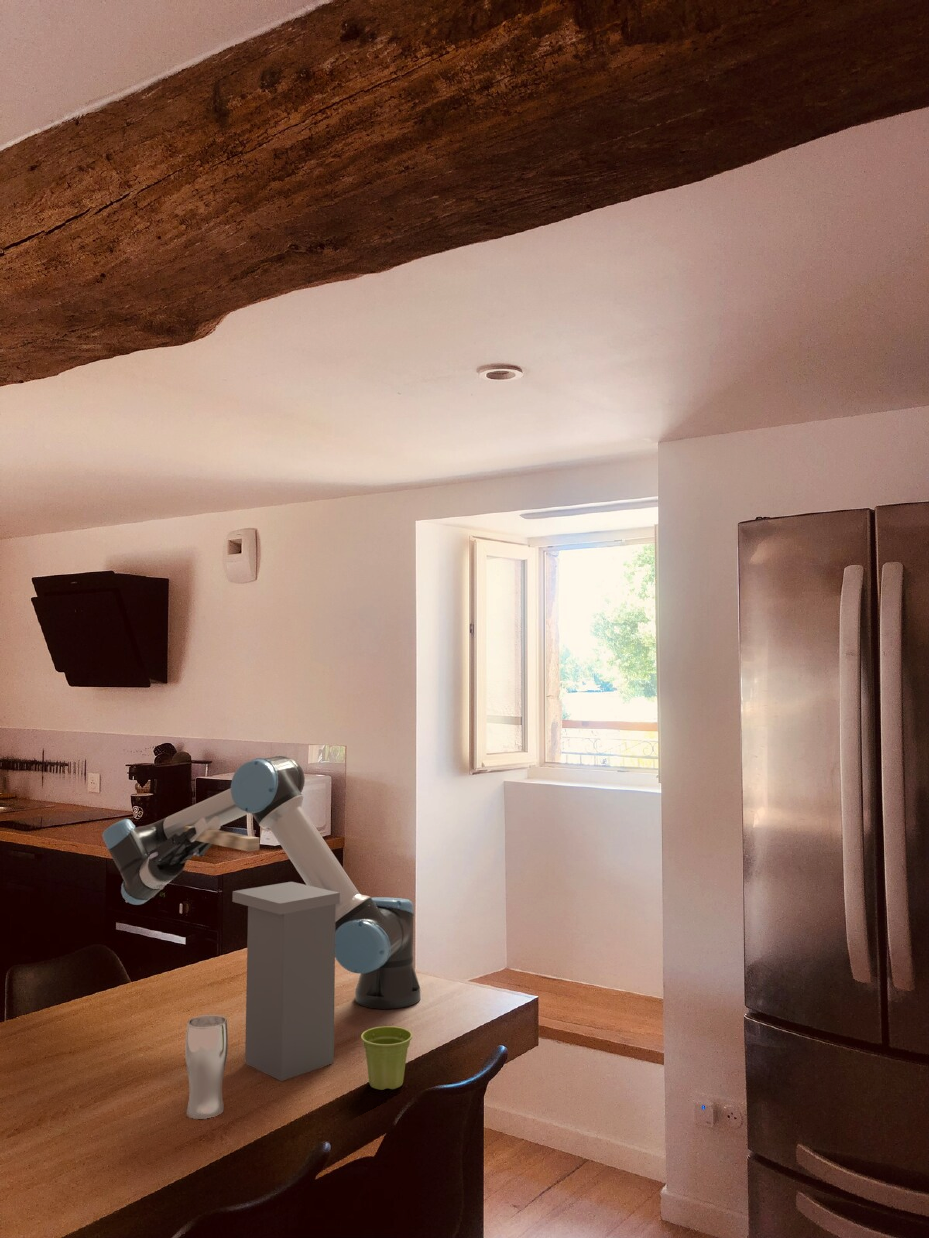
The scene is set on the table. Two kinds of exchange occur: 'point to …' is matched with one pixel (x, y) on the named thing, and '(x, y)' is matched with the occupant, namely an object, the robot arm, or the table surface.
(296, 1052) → the grey stand
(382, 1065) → the plant pot
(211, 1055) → the beer glass
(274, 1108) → the table surface
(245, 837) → the wooden bar
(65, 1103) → the table surface
